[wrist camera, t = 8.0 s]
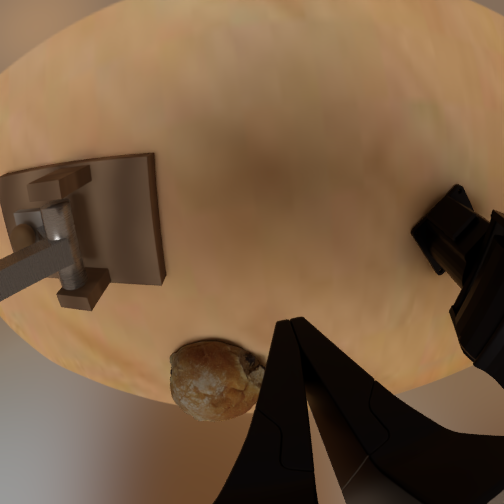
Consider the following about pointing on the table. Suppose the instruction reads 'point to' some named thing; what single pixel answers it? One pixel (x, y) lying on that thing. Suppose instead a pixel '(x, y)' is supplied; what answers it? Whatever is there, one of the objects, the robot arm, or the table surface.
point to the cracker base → (93, 219)
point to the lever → (46, 254)
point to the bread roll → (215, 380)
